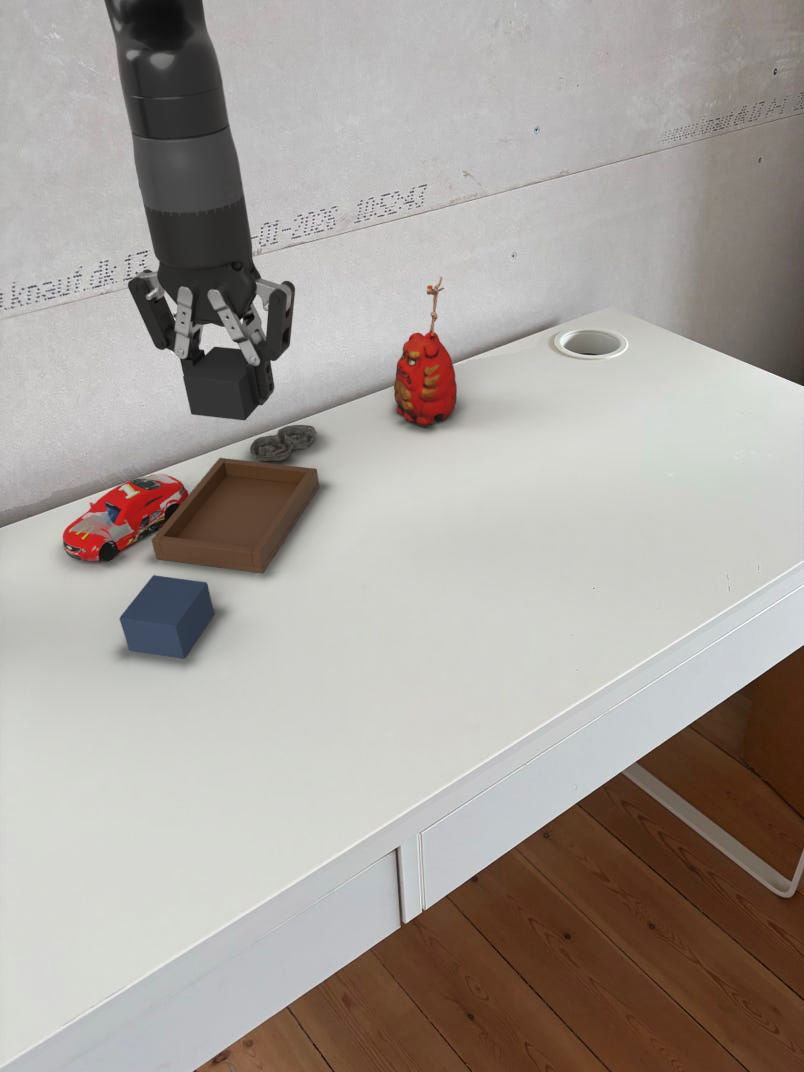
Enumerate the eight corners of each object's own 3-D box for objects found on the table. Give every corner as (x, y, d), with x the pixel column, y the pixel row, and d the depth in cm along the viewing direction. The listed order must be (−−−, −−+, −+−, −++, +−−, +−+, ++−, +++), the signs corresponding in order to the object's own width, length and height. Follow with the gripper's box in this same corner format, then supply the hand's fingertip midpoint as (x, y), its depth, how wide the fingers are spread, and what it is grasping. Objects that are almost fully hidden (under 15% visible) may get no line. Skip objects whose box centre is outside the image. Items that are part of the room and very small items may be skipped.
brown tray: (156, 559, 94) (151, 539, 93) (223, 475, 105) (219, 457, 104) (262, 573, 92) (259, 553, 91) (319, 487, 103) (317, 468, 102)
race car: (90, 574, 93) (78, 538, 90) (54, 553, 95) (41, 518, 92) (201, 509, 100) (193, 474, 98) (165, 492, 103) (156, 457, 100)
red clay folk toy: (384, 409, 116) (373, 279, 106) (436, 392, 119) (430, 265, 109) (418, 435, 111) (411, 302, 102) (472, 418, 114) (469, 286, 104)
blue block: (128, 650, 84) (118, 618, 82) (162, 606, 89) (153, 574, 86) (184, 659, 83) (175, 626, 81) (214, 614, 88) (207, 582, 86)
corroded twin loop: (328, 442, 110) (327, 434, 109) (269, 470, 106) (267, 461, 105) (299, 427, 113) (298, 418, 112) (240, 454, 108) (238, 445, 108)
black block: (191, 414, 86) (182, 376, 84) (221, 383, 90) (214, 346, 88) (245, 420, 85) (238, 382, 83) (273, 388, 89) (267, 351, 87)
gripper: (300, 182, 78) (325, 386, 89) (132, 172, 81) (176, 371, 92) (260, 214, 72) (292, 427, 83) (81, 201, 75) (135, 409, 86)
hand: (231, 397), depth 87 cm, fingers closed on black block, 5 cm apart
